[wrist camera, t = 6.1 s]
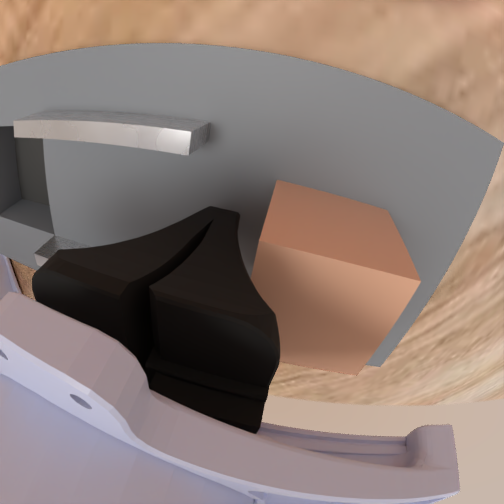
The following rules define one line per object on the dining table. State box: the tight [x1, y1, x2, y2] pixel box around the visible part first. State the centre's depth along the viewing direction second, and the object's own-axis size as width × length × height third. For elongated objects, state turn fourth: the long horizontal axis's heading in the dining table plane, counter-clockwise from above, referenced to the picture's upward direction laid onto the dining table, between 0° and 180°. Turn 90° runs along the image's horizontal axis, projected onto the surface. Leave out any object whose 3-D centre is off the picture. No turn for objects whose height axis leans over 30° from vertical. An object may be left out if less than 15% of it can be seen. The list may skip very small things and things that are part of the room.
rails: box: [13, 110, 210, 266], centre depth 12 cm, size 8×9×2 cm
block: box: [251, 180, 421, 376], centre depth 10 cm, size 4×4×4 cm
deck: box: [0, 43, 504, 367], centre depth 14 cm, size 14×28×3 cm, turn 80°
